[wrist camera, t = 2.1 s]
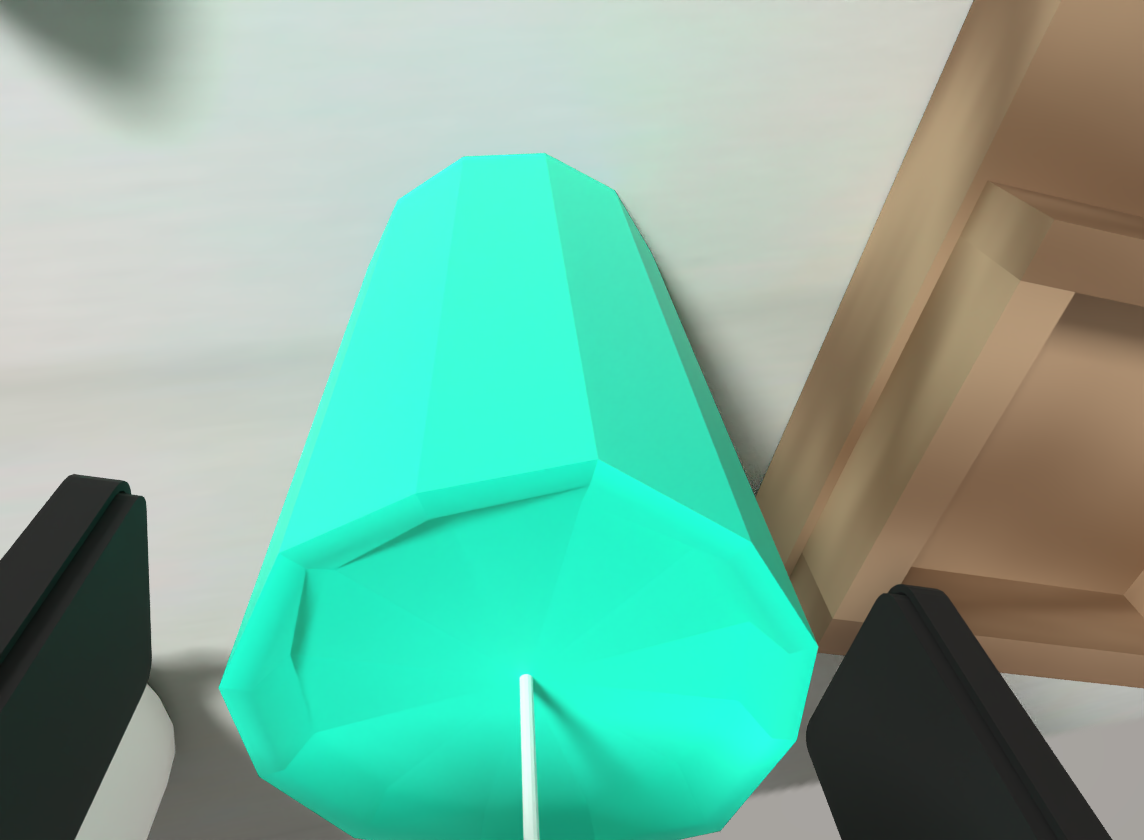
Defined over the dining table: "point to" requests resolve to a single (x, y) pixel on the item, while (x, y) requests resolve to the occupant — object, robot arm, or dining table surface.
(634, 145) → the dining table surface
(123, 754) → the mug
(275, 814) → the dining table surface
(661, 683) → the candle
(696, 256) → the dining table surface
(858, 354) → the brown wooden stand
